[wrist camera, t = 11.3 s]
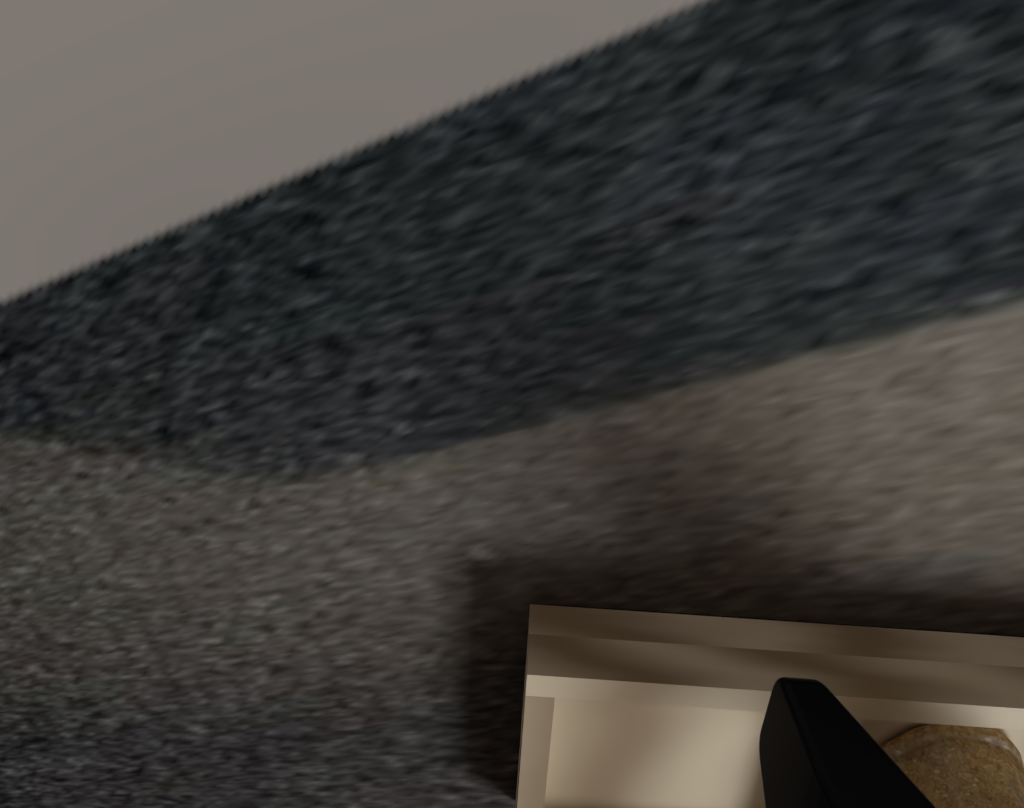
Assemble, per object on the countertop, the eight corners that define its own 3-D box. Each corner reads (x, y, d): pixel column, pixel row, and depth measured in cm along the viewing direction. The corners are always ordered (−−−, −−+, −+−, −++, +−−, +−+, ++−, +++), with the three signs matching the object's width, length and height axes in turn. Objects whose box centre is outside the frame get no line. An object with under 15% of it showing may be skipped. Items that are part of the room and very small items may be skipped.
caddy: (515, 802, 30) (511, 878, 28) (530, 604, 25) (527, 674, 23) (1023, 838, 30) (1063, 918, 27) (1129, 644, 25) (1188, 720, 23)
